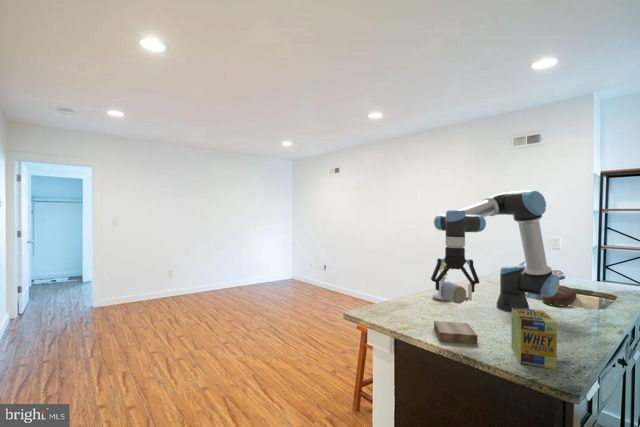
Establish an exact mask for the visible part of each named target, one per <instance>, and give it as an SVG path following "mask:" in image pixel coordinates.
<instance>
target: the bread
mask: <svg viewBox="0 0 640 427" xmlns="http://www.w3.org/2000/svg"><path fill="white" fill-rule="evenodd" d="M540 299H541V300H542V302H543V303H545V302H546V303H547V305H549V304H552V305H558V306H557V307H561V306H560V305H564V306H563V307H566V306H570V305H572V304H573V303H574V302H575V300H577V293H576V292H575V290H574V289H572V288H571V287H569V286H566V285H560V284H559V288H558V290H557V292H556V294H555V295H553V296H552V297H545V296H540ZM546 303H545V304H546ZM552 305H551V306H552Z"/></svg>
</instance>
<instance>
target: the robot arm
mask: <svg viewBox="0 0 640 427" xmlns="http://www.w3.org/2000/svg"><path fill="white" fill-rule="evenodd" d="M546 207H547V202H546V199H545V197H544V195H543V194H542V193H541V192H539V191H537V190H520V191H519V190H518V191H504V192H500V193H498V194H494V195H491V196H489V197H486V198H484V199H483V200H482V201H481V202H478V203H475V204H473V205H469V206H467V207H464V208H462V209H448V210H446V212H445V214H438V215H436V216H435V217H434V220H433V224H434V227H435V228H436V230H439V231H442V232H443V231H445V246H446V247H445V249H444V250H445V251H444V252H445V256H444V258H437V259H436V260H437V261H436V265H435V267H434V270H433V271H432V272H433V273H432V275H431V278H430V280H431V281H432V282H434V283H435V286H434V287H435V290H436V291H437V290H438V298H439V299H441V283H440V281H441V279H442V278H443V277H444V275H445V274H446V273H447V274H448V272H449V271H450V270H461V272H462V273H463V275H464V276H465V277H466V279H467V280H468V282H469V283H467V297H468V301H469V302H472V301H473V299H472V298H473V295H472V294H473V293H475V286H476V284H480V279H479V277H478V274H477V272H476V269H475V267H474V260H473V259H466V248H465V245H466V233H480V232H482V231H484V230H485V229H486V226H487V225H486V224H487V221H486V219H485V218H486V217H493V216H494V217H495V216H499V215H501V216H502V215H503V216H504V215H507V216H508V215H509V216H510V215H511V216H513V217H512V218H513V220H514V222H517V223H518V229H519V233H520V238H521V239H520V240H521V244H522V248H523V253H524V254H523V255H524V259H525V264H526V265H525V266H523V265H505V266H502V267H501V268H500V271H499V272H500V274H499V275H500V276H499V277H500V279H499V280H500V282H499V284H500V285H499V286H500V290H499V291H500V293H499V295H498V298H497V301H496V308H498V309H500V310H502V311H506V312H510V313H512V307H515V308H524V309H530V305H529V302H528V300H527V297H526V293H527V294H533V295H537V296H540V297H541V296H545V297H552V296H553V295H555V294H556V292H557V290H558V288H559V285H560V277H559V275H557V273H553V270H552V267H550V266H549V265H548V262H547V258H546V252H545V246H544V241H543V240H544V239H543V236H542V228H541V225H540V219H542V217H543V214H545V212H546V210H547V209H546ZM443 262H445V263H446V266H445V267H444V269H442V270H441V271H442V272H440V271H439V269H440V267H441V264H443ZM465 264H467V265H468V267H469V268H468V269H469V270H470V272H471V275H472V276H471V275H470V274H469V272H468V271H467V269H466V268H465V267H464V266H465ZM439 272H440V273H439ZM438 273H439V274H438ZM439 299H438V300H439Z"/></svg>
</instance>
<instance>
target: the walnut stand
mask: <svg viewBox="0 0 640 427" xmlns="http://www.w3.org/2000/svg"><path fill="white" fill-rule="evenodd" d="M433 325H434V326H433V330H434V331H435V334H436V336H437V338H438V341H439V342H444V343H445V342H446V343H456V344H471V345H478V334H477V333H476V331H475V330H474V329H473V328H472V326H471V325H470V324H469V323H468V322H454V321H443V320H442V321H439V320H434V321H433Z"/></svg>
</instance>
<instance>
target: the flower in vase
mask: <svg viewBox="0 0 640 427" xmlns="http://www.w3.org/2000/svg"><path fill="white" fill-rule="evenodd" d="M446 265H447V264H446V263H445V262H443V264H441V267H440V269H439V271H438V272H440V273H441V272H442V271H443V269H444V267H445V266H446ZM447 277H448V272H447V273H446V274H445V275H444V277H443V278H442V279H441V281H440V283H441V286H442V285H443V283H445V282H446V279H447ZM432 298H434V299H436V300H439V301H440V300H441V301H446V300H445V299H443V298H442V297H441V299H439V298H438V290H436V291H435V292H433V293H432Z"/></svg>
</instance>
